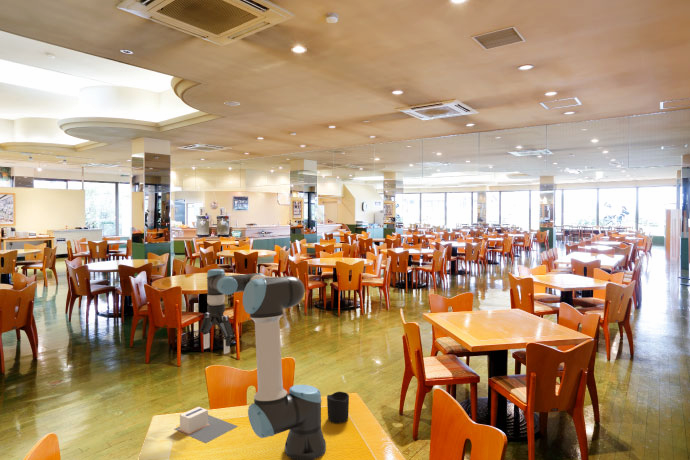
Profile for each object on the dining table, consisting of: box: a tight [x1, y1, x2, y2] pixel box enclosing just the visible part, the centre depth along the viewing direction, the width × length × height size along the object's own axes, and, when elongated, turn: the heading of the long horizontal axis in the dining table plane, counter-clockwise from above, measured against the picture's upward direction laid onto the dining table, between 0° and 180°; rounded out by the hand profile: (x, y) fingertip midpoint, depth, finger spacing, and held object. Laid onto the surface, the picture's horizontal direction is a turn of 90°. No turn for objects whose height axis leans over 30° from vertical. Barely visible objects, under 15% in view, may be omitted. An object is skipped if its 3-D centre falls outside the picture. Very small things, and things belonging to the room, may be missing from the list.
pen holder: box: [326, 391, 350, 424], centre depth 180 cm, size 9×9×10 cm
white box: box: [179, 406, 209, 433], centre depth 172 cm, size 9×6×6 cm, turn 146°
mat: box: [174, 414, 239, 444], centre depth 172 cm, size 20×16×1 cm
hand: (216, 350), depth 189 cm, fingers open, 13 cm apart
